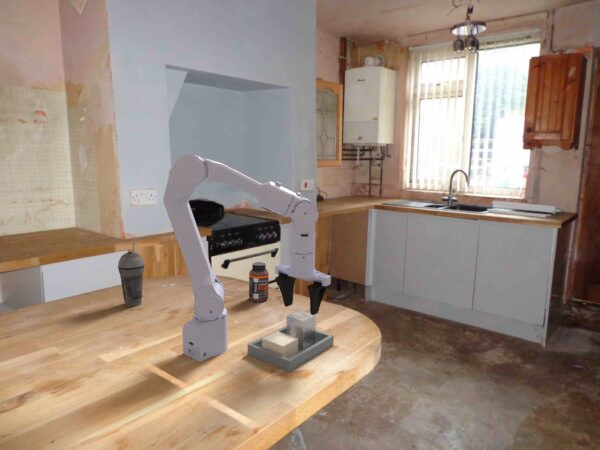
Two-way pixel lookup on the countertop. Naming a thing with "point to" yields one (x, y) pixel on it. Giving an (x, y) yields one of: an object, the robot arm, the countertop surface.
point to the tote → (287, 364)
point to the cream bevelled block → (281, 344)
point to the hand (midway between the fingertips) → (301, 309)
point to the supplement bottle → (258, 282)
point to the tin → (302, 328)
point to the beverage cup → (131, 277)
